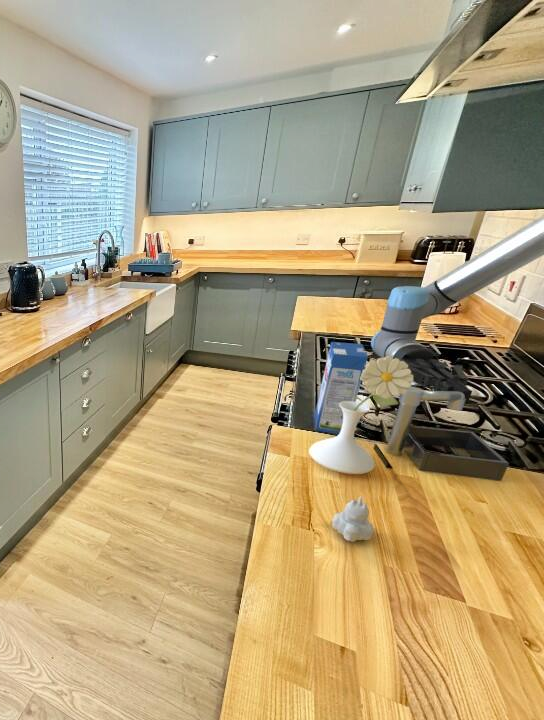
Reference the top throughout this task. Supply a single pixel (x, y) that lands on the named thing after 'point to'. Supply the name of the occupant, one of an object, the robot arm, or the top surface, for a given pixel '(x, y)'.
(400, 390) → the flower in vase
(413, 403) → the spout
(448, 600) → the top surface
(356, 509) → the grey creature figurine
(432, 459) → the dark grey open tray
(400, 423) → the faucet base
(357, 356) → the milk carton
